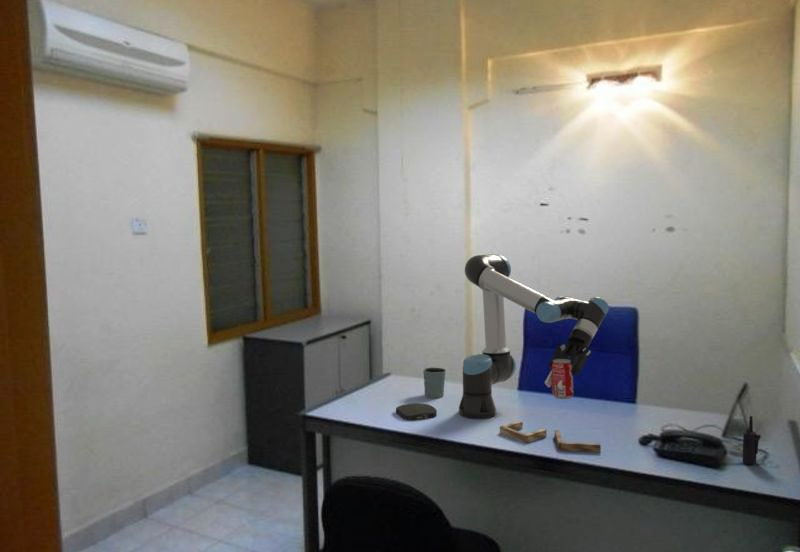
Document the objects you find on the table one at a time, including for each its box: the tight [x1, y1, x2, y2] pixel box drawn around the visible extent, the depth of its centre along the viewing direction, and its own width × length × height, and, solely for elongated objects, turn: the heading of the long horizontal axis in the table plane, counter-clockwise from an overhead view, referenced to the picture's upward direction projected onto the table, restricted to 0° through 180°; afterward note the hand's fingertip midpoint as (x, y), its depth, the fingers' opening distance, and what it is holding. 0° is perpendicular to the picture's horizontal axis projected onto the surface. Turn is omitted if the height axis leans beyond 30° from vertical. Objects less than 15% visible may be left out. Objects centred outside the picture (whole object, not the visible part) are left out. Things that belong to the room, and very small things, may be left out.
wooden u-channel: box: [499, 420, 547, 444], centre depth 221 cm, size 11×13×2 cm
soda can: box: [551, 358, 574, 400], centre depth 212 cm, size 7×7×13 cm
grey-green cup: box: [422, 367, 447, 399], centre depth 274 cm, size 10×10×12 cm
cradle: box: [554, 429, 602, 453], centre depth 208 cm, size 10×20×2 cm, turn 36°
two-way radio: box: [742, 415, 762, 465], centre depth 192 cm, size 6×4×15 cm
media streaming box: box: [395, 402, 438, 421], centre depth 247 cm, size 15×15×3 cm
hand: (553, 386), depth 210 cm, fingers closed on soda can, 5 cm apart
